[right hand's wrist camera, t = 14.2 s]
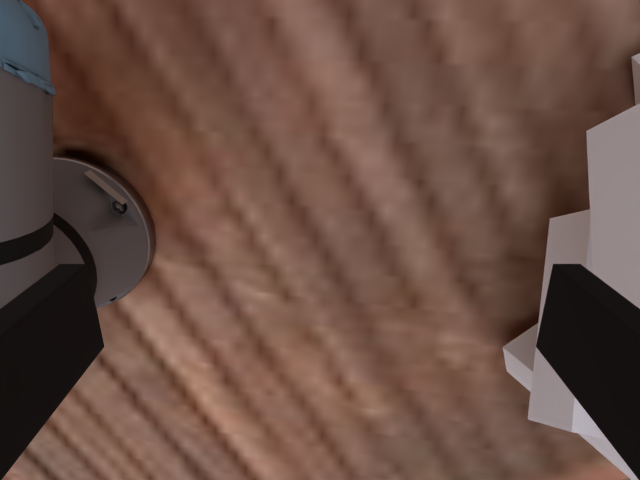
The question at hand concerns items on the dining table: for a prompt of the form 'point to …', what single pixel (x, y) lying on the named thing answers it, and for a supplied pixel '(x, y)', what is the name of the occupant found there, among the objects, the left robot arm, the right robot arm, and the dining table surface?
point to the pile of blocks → (590, 265)
